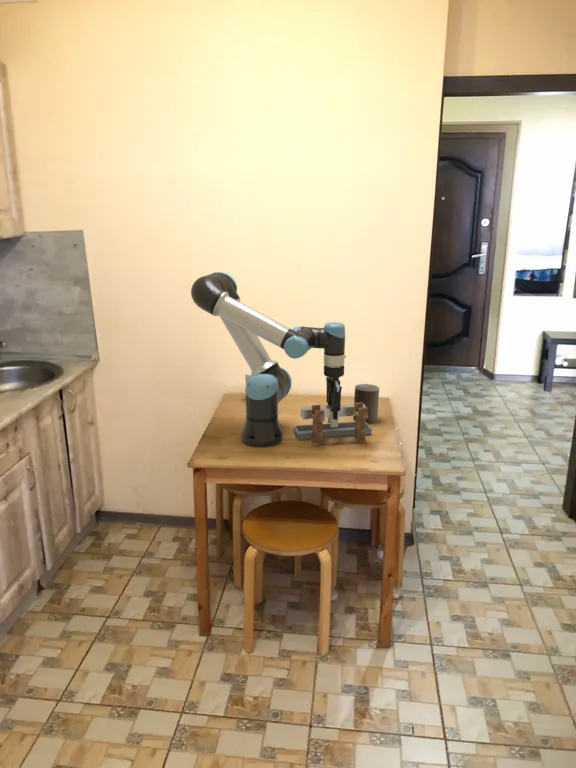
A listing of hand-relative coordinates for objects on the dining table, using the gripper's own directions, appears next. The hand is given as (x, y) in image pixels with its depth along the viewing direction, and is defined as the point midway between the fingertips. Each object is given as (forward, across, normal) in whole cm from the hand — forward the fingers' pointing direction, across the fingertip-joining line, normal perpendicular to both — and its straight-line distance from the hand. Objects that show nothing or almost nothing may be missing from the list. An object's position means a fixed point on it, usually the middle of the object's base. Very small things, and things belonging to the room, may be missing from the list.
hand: (332, 424), depth 232 cm
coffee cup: (+4, +45, +23) cm, 51 cm away
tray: (+4, 0, 0) cm, 4 cm away
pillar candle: (+4, +12, -17) cm, 21 cm away
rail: (-4, 0, 0) cm, 4 cm away
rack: (+4, -9, 0) cm, 10 cm away
